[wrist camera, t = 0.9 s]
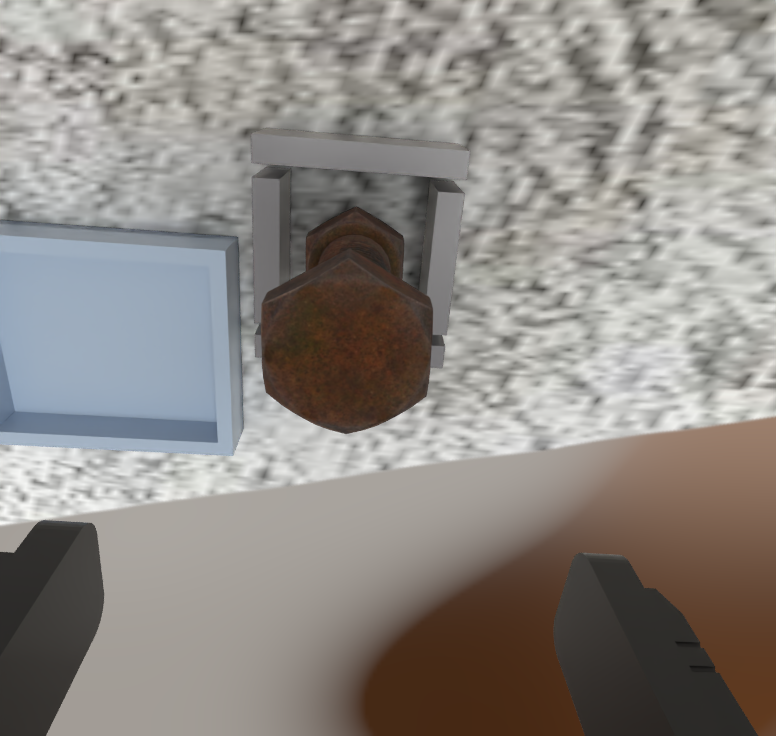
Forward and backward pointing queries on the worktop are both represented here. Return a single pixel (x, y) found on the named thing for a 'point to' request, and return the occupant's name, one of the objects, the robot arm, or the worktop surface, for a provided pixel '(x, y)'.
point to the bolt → (348, 329)
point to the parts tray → (119, 339)
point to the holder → (363, 157)
